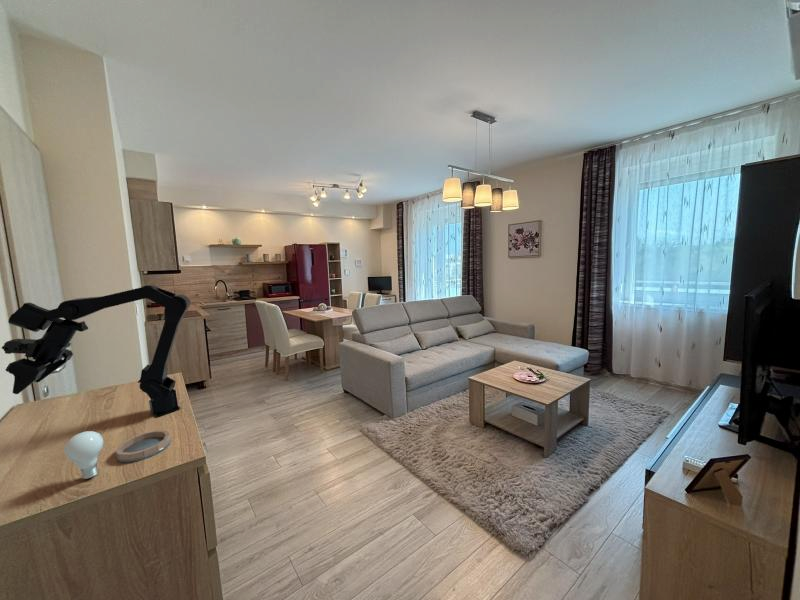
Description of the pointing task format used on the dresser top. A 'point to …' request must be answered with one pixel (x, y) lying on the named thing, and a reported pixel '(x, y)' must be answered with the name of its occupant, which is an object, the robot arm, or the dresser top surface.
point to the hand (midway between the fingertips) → (26, 387)
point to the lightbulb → (85, 452)
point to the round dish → (143, 446)
